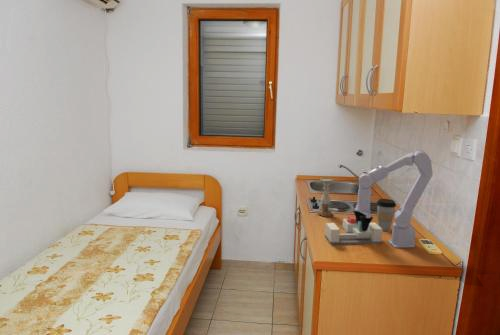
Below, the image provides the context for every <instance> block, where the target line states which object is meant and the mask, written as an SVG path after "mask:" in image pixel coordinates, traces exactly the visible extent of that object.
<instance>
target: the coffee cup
mask: <svg viewBox="0 0 500 335" xmlns="http://www.w3.org/2000/svg"><path fill="white" fill-rule="evenodd" d="M375 205H376V206H377V209H376V211H377V214H376V216H377V225H378V226H380V227H381V228H382V232H389V231H390V230H391V228H392V224H393V223H392V222H393V219H394V213H395V207H397V204H396V202H395V200H393V199H389V198H379V199H377V201H376V204H375Z"/></svg>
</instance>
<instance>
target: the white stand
mask: <svg viewBox="0 0 500 335" xmlns="http://www.w3.org/2000/svg"><path fill="white" fill-rule="evenodd" d="M367 230H368V231H369V232H370V236H369V238H356V234H355V233H353V234H347V233H341V232H340V228H339V227H338V225H336V223H335V222H326V223H325V231H324V232H325V234H324V238H325V239H326V240H327V243H328V244H330V245H334V246H335V245H337V246H338V245H382V244H383V240H382V239H383V231H382V228H381V227H380V226H378V223H376V222H370V224H369V226H368V229H367Z"/></svg>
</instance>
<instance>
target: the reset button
mask: <svg viewBox="0 0 500 335" xmlns="http://www.w3.org/2000/svg"><path fill="white" fill-rule="evenodd" d="M347 219H348V221H347V222H348V223H349V224H357V223H356V217H355V215H354V216H353V215H352V216H351V215H349V216H347Z"/></svg>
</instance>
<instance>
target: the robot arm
mask: <svg viewBox="0 0 500 335" xmlns="http://www.w3.org/2000/svg"><path fill="white" fill-rule="evenodd" d="M414 165H415V166H416V167H417V170H418V172H419V174H418V176H417V177H416V179H415V181H414V184H412V187H411V189H410V191H409V192H408V194H407V196H406V197H405V200H404V202H403V203H402V204H401V206H399V209H397V210H395V211H394V215H393V219H394V222H393V223H392V232H391V239H387V242H388V243H389V244H390V245H391V246H392V247H394V248H395V249H396V248H415V247H416V246H415V241H416V240H415V239H416V229H415V226H413V225H411V218H412V217H413V213H414V209H415V208H416V206H417V204H418V203H419V200H420V199H421V197H422V195H423V193H424V192H425V190H426V187H427V186H428V184H429V183H430V180H431V179H432V177H433V172H434V171H433V167H432V165H433V164H432V159H431V158H430V156H429V154H427V153H426V152H425V151H424V150H423V149H416V150H414V151H413V152H412V151H411V152H409V153H407V154H406V155H403V156H402V157H400V158H398V159H396V160H394V161H392V162H391V163H389V164H387V165H377V166H375V168H374V169H371V170H369V171H366V172H365V173H363V174H361V175H360V176H359V178H358V184H359V185H358V190H357V202H356V204H355V208H354V209H353V213H354V216H355V217H356V223H357V225H358V221H361V223H362V231H367V229H368V226H369V224H370V223H372V220H374V219H373V216H372V214H371V198H372V196H371V195H372V188H371V187H372V185H373V184H376V183H378V182H380V181H381V180H384V179H386V178H387V177H388V176H389V174H390V173H392V172H393V171H396V170H398V169H401V168H403V167H405V166H411V167H413V166H414Z"/></svg>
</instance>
